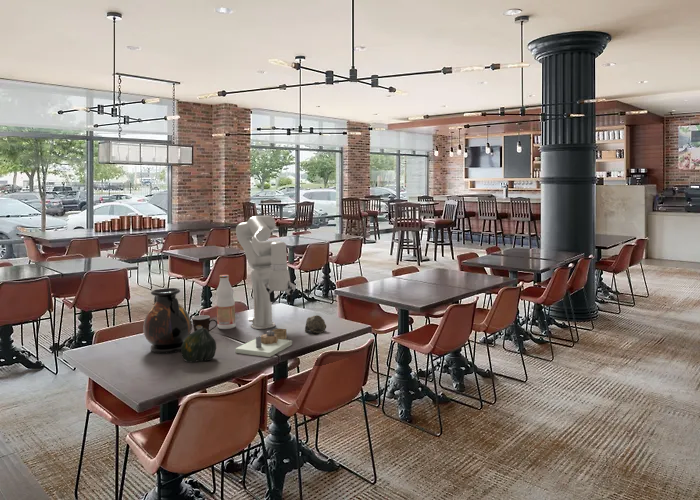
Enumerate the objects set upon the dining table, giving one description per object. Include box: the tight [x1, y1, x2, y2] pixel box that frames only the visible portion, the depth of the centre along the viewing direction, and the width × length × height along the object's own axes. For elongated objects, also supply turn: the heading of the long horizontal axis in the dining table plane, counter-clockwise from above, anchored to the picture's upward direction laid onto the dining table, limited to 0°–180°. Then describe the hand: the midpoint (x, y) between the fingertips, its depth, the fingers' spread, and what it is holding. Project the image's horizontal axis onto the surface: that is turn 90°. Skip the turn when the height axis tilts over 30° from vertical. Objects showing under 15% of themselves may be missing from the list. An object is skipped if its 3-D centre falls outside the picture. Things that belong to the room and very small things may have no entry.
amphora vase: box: [142, 287, 193, 354], centre depth 261 cm, size 22×22×28 cm
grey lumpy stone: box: [304, 315, 327, 335], centre depth 287 cm, size 11×9×10 cm
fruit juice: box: [215, 274, 236, 330], centre depth 298 cm, size 9×9×28 cm
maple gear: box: [271, 328, 288, 340], centre depth 276 cm, size 7×7×4 cm
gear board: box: [235, 330, 293, 358], centre depth 260 cm, size 18×20×7 cm
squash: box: [180, 328, 217, 363], centre depth 245 cm, size 14×15×15 cm
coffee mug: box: [191, 314, 218, 333], centre depth 281 cm, size 12×9×10 cm
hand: (280, 301), depth 275 cm, fingers open, 9 cm apart
